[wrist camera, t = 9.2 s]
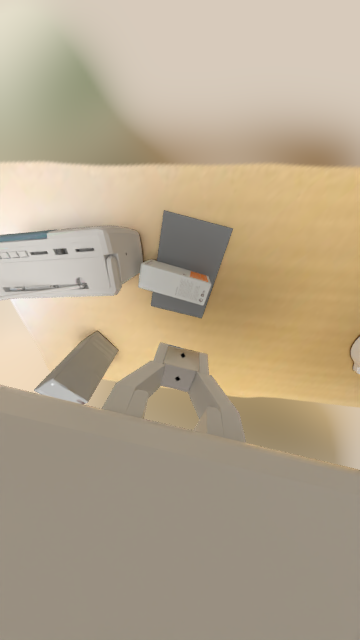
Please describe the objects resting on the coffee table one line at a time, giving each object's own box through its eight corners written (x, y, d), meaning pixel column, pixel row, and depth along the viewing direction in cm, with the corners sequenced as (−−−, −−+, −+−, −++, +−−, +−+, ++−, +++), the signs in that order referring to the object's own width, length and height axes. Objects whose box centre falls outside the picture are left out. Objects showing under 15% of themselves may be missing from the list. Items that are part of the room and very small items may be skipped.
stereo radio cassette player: (141, 228, 27) (42, 214, 10) (148, 274, 31) (88, 323, 14) (39, 236, 29) (-187, 237, 12) (58, 278, 33) (-91, 324, 16)
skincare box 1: (83, 339, 42) (28, 390, 28) (100, 328, 39) (48, 378, 25) (105, 359, 45) (65, 413, 31) (122, 350, 42) (86, 405, 29)
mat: (232, 228, 26) (233, 228, 25) (201, 317, 35) (201, 318, 34) (164, 210, 25) (164, 210, 25) (151, 304, 34) (150, 305, 34)
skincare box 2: (212, 283, 24) (140, 262, 23) (203, 306, 26) (137, 288, 26) (209, 275, 29) (150, 258, 29) (202, 294, 32) (146, 279, 31)
